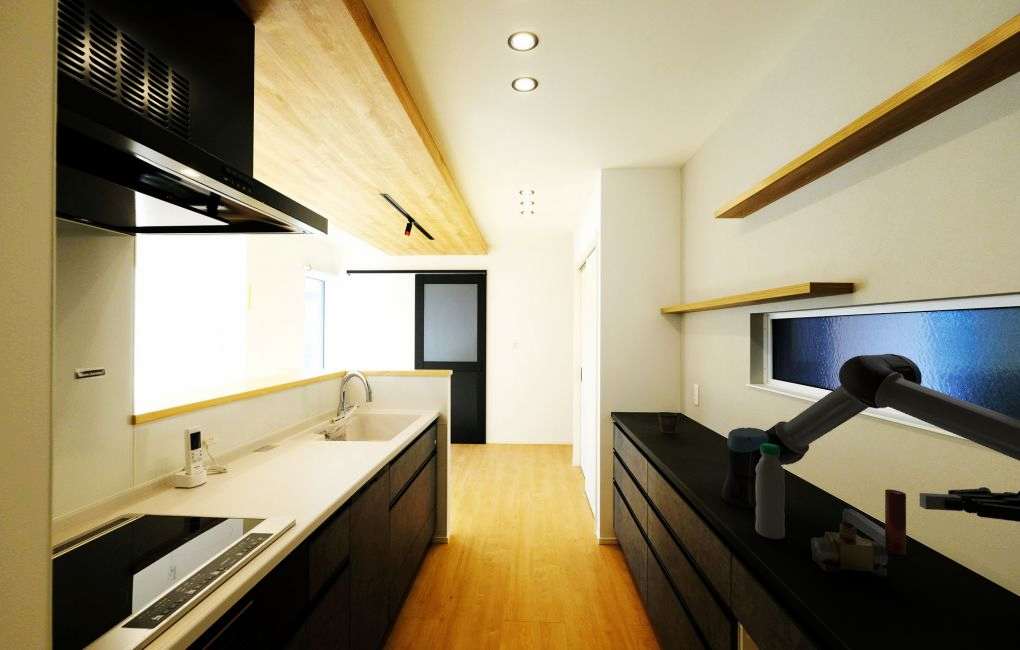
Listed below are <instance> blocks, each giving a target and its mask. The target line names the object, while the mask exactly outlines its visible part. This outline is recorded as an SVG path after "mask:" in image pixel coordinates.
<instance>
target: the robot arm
mask: <svg viewBox="0 0 1020 650" xmlns="http://www.w3.org/2000/svg"><path fill="white" fill-rule="evenodd" d="M922 377H923V376H922V372H921V370H920V368H919V366H918V365H917V364H916V363H915V362H914V361H913V360H912V359H910V358H909V357H906V356H904V355H901V354H895V353H883V354H862V355H861V354H860V355H857V356H856V355H855V356H853V357H850V358H849V359H848V360H846V361H845V362H844V363H842V365H841V366H840V368H839V371H838V380H839V383H840V385H839V386H838V387H836V388H835V389H833V390H832V391H830V392H829V393H827V394H826V395H825V396H823V397H822V398H820V399H819V400H818V401H816V402H814V403H813V404H811V405H810V406H809V407H807V408H806V409H804V410H803V411H801V412H800V413H799V414H797V415H796V416H795V417H793V418H792V419H790V420H789V421H786V420H785V421H783V420H782V421H779V422H777V423H776V424H774V425H773V426H771V427H769V428H768V429H766V430H763V429H760V428H757V427H738V428H735V429H731V430H730V431H729V432H728V435H727V441H726V446H727V476H726V479H725V481H724V483H723V487H722V488H721V489H722V490H721V497H722V500H723V501H725V502H726V503H728V504H730V505H733V507H737V508H740V509H745V510H751V511H756V466H757V464H758V463H759V460H760V459H761V458H762V454H761V451H760V446H761V444H764V443H768V444H774V445H777V446H779V447H780V454H779V455H780V456H778V460H779V461H780V463H781V466H785V465H788V466H789V465H794V464H795V463H797V462H799V461H801V460H802V459H803V458H804V457H805V455H806V453H808V451H809V450H810V444H812V443H814V442H815V441H817V440H818V439H821V437H824V436H825V435H827V434H828V433H829V432H832V431H834V430H835V429H836V428H838V427H839V426H841V425H843V424H844V423H846V422H848V421H849V420H851V419H852V418H854V417H855V416H857V415H859V414H861V413H862V412H864V411H866V410H867V409H868V408H870V409H874V410H875V409H886V408H891V409H893V410H895V411H898V412H901V413H903V414H904V415H907V416H910V417H911V418H912V417H913V418H914V419H917V420H920V421H921V422H924V423H927V424H929V425H931V426H934V427H936V428H939V429H941V430H944V431H947V432H949V433H951V434H954V435H956V436H959V437H961V438H963V439H965V440H968V441H970V442H972V443H976V444H978V445H980V446H983V447H984V448H985V447H986V448H987V449H989V450H993V451H995V452H997V453H999V454H1003V455H1005V456H1007V457H1009V458H1012V459H1014V460H1017V461H1020V419H1017V418H1015V417H1012V416H1009V415H1006V414H1003V413H1000V412H998V411H995V410H992V409H989V408H986V407H983V406H981V405H978V404H975V403H972V402H969V401H967V400H963V399H962V398H958V397H955V396H953V395H949V394H947V393H944V392H941V391H938V390H935V389H933V388H930V387H927V386H924V385H922V380H923V379H922ZM947 492H948V493H931V492H929V493H928V492H919V507H921V508H922V509H924V510H933V511H934V510H935V511H953V512H963V511H964V512H965V513H968V514H976V516H978V517H979V518H985V519H993V520H1001V521H1010V522H1016V523H1017V522H1019V523H1020V490H1018V492H1012V491H1010V492H1009V491H1005V492H992V491H991V490H990V488H988V487H986V486H984V487H979V488H966V489H964V488H963V489H947Z"/></svg>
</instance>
